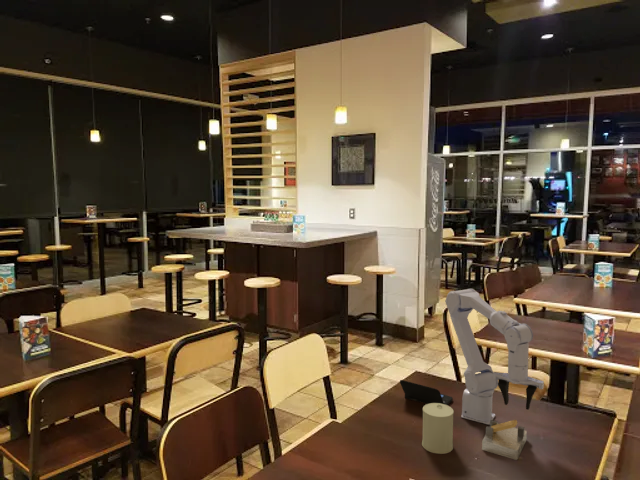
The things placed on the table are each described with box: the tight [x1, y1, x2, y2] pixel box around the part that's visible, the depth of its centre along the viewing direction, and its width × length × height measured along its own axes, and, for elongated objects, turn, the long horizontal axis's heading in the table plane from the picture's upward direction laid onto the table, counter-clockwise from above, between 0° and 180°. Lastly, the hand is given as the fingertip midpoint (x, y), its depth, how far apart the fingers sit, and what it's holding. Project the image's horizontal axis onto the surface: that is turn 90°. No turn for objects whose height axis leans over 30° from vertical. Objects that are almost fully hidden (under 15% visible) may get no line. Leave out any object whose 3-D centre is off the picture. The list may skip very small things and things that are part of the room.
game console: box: [399, 379, 454, 406], centre depth 175 cm, size 16×14×9 cm
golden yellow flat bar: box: [491, 419, 518, 432], centre depth 146 cm, size 8×3×1 cm, turn 55°
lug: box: [517, 425, 526, 437], centre depth 146 cm, size 2×2×2 cm
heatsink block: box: [481, 419, 528, 461], centre depth 146 cm, size 10×13×5 cm
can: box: [421, 403, 455, 455], centre depth 146 cm, size 9×9×12 cm
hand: (517, 405), depth 149 cm, fingers open, 6 cm apart
